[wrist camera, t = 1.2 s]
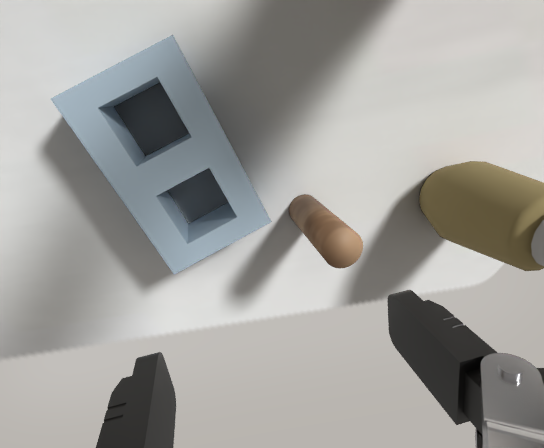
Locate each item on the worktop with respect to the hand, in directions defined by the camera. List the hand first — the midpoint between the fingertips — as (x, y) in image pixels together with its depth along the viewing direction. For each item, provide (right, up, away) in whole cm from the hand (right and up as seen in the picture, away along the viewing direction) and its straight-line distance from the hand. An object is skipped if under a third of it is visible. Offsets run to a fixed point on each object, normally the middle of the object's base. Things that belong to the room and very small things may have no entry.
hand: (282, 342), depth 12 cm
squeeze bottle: (+18, +7, +25) cm, 32 cm away
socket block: (-9, +10, +18) cm, 23 cm away
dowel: (+3, +5, +22) cm, 23 cm away
